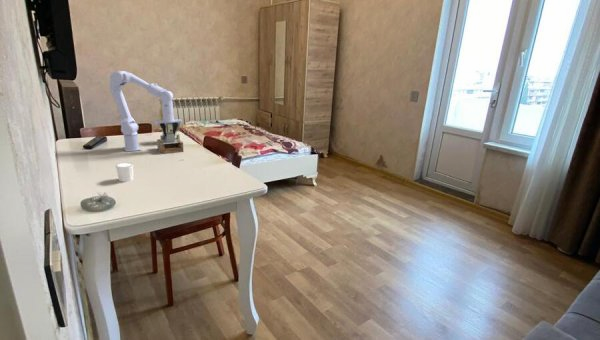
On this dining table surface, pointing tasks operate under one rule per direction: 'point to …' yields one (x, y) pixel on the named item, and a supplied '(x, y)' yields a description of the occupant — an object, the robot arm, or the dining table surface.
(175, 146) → the frame
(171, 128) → the coffee can
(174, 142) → the trapdoor
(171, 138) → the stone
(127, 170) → the white cup
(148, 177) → the dining table surface
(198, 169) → the dining table surface
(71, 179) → the dining table surface
